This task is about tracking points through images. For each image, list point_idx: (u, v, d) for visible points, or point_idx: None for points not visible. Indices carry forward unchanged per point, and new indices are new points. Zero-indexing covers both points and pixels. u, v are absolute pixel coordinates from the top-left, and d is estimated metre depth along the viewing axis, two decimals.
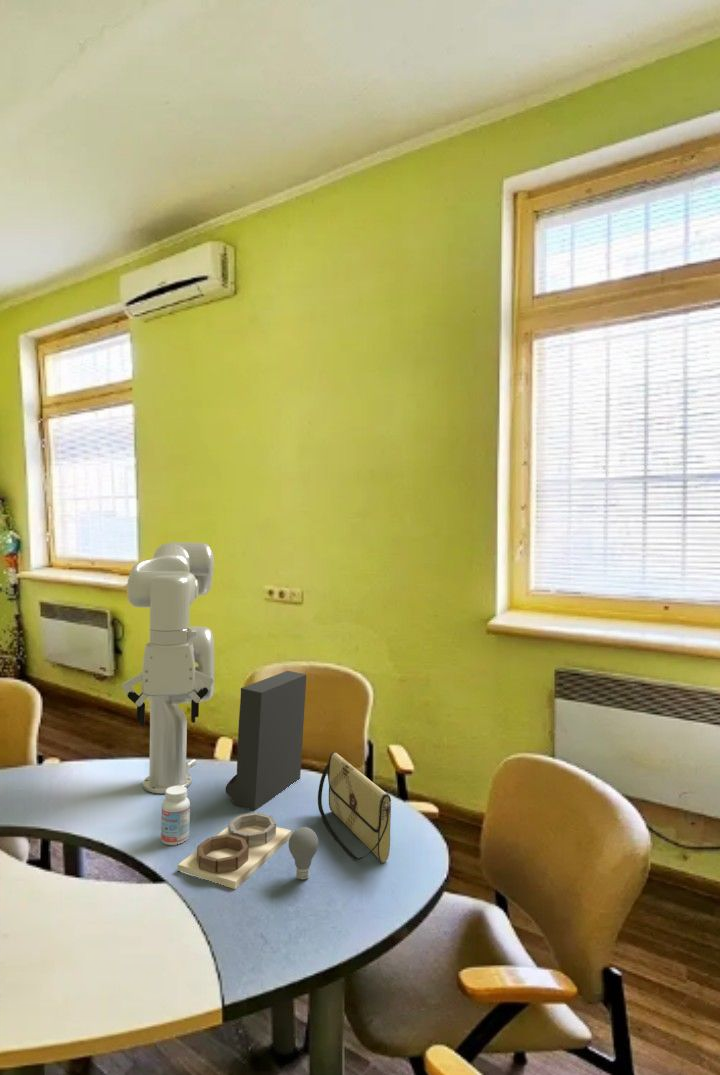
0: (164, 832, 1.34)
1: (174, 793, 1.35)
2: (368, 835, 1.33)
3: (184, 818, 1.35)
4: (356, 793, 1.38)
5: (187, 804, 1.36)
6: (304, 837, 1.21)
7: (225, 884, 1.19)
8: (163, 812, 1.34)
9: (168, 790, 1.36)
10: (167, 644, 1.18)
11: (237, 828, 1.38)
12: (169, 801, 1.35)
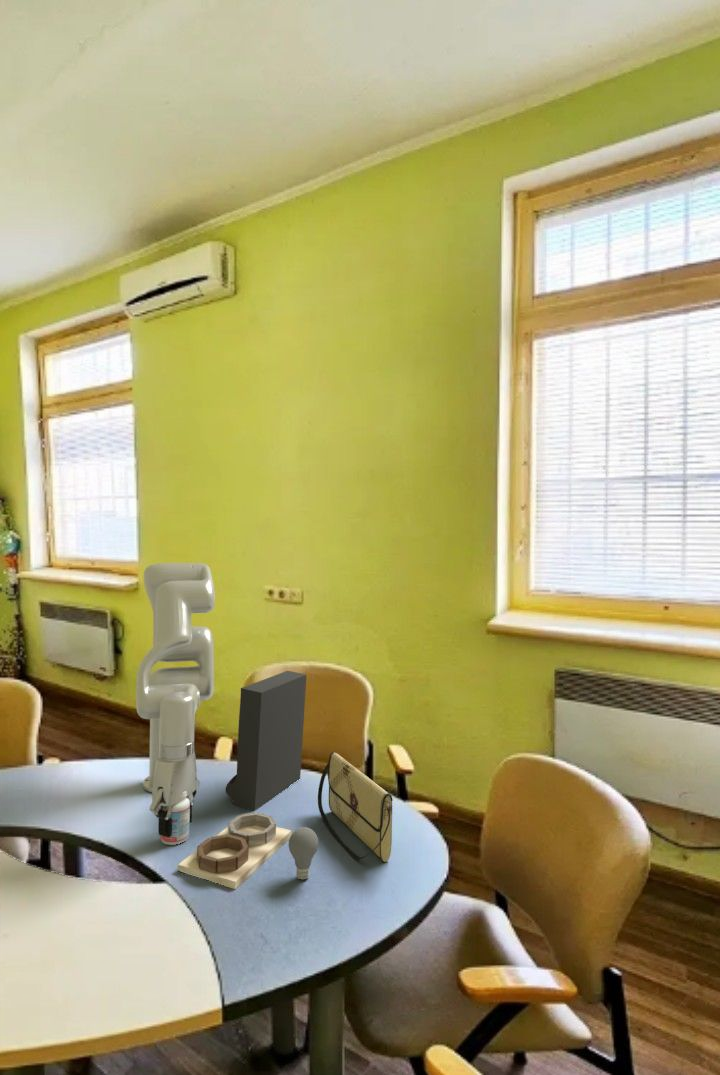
0: None
1: None
2: (369, 835, 1.33)
3: (184, 818, 1.35)
4: (357, 793, 1.38)
5: (187, 804, 1.36)
6: (304, 837, 1.21)
7: (225, 884, 1.19)
8: None
9: None
10: (189, 755, 1.35)
11: (237, 828, 1.38)
12: None
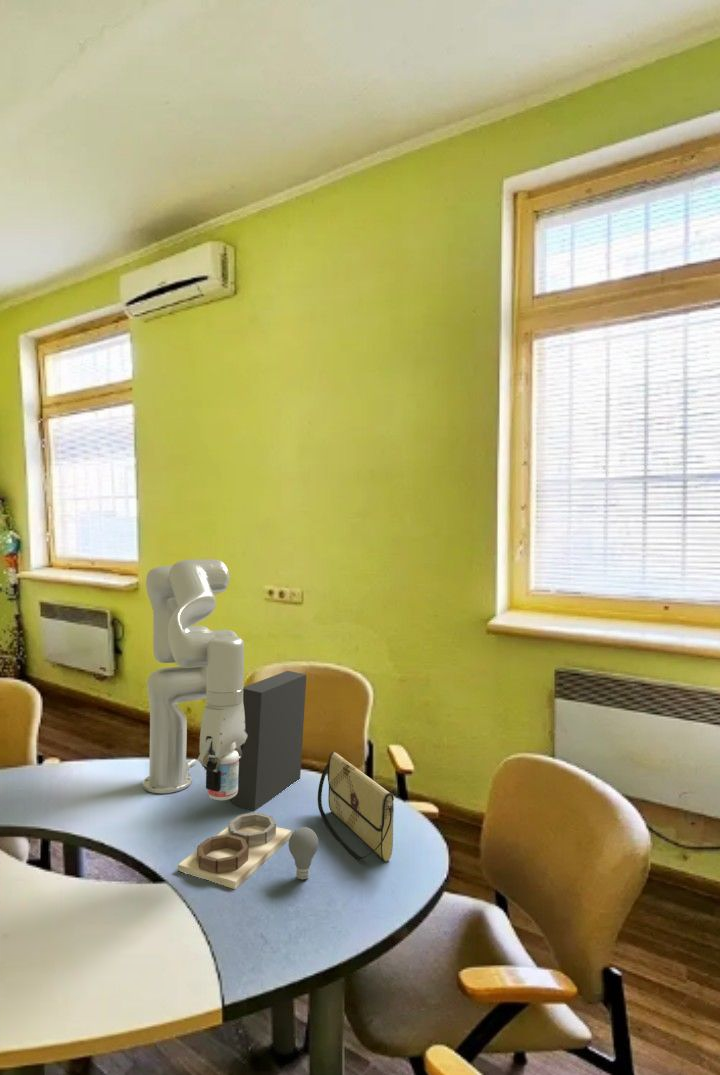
0: None
1: None
2: (370, 834, 1.33)
3: (234, 771, 1.24)
4: (358, 792, 1.38)
5: (236, 756, 1.25)
6: (304, 837, 1.21)
7: (225, 884, 1.19)
8: None
9: None
10: (239, 703, 1.24)
11: (237, 828, 1.38)
12: None
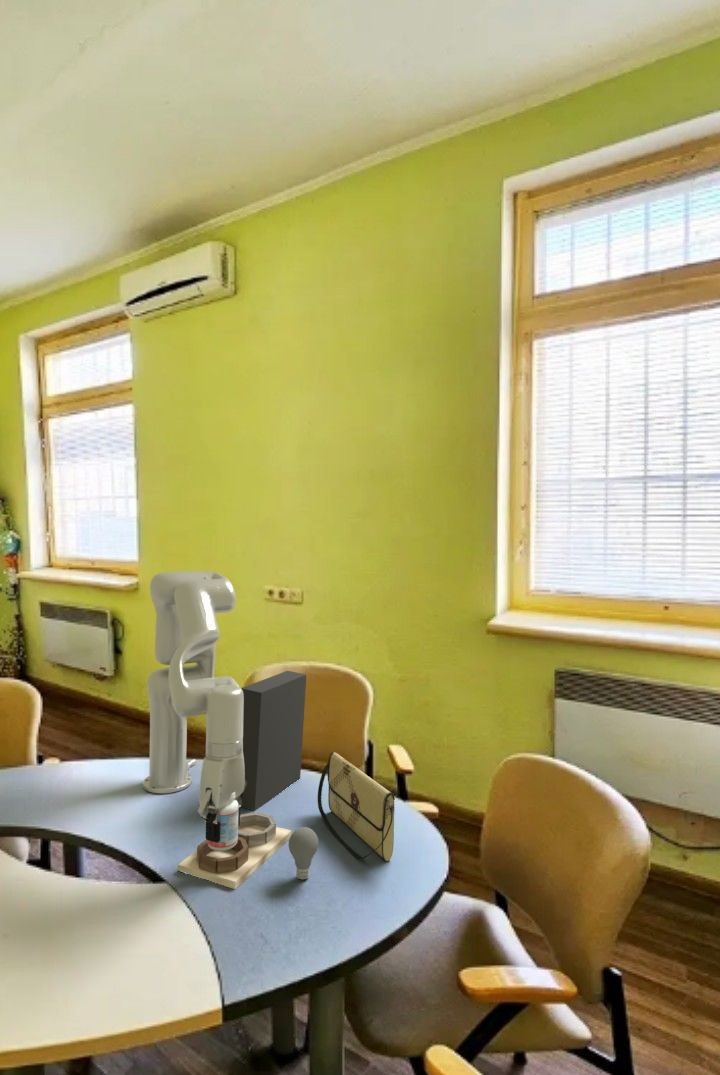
0: None
1: None
2: (371, 834, 1.33)
3: (233, 821, 1.24)
4: (358, 792, 1.38)
5: (236, 806, 1.25)
6: (304, 837, 1.21)
7: (225, 884, 1.19)
8: None
9: None
10: (238, 753, 1.24)
11: None
12: None
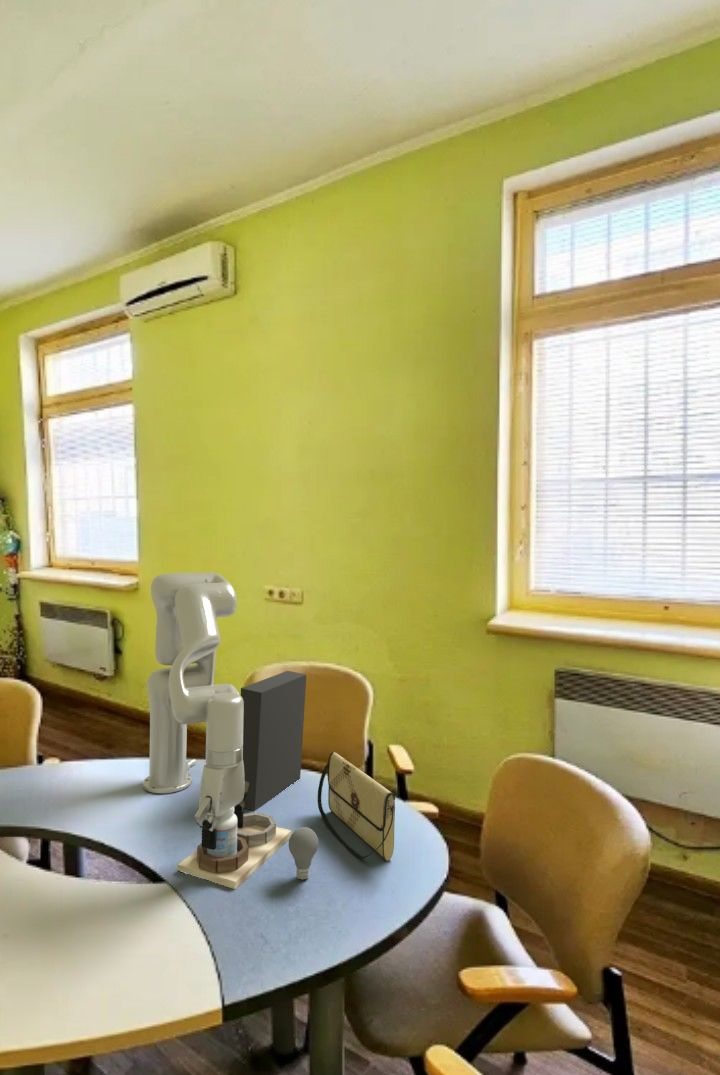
0: (211, 851, 1.24)
1: None
2: (371, 834, 1.33)
3: (232, 836, 1.25)
4: (358, 792, 1.38)
5: (235, 821, 1.25)
6: (304, 837, 1.21)
7: (225, 884, 1.19)
8: None
9: None
10: (238, 761, 1.24)
11: (237, 828, 1.38)
12: None
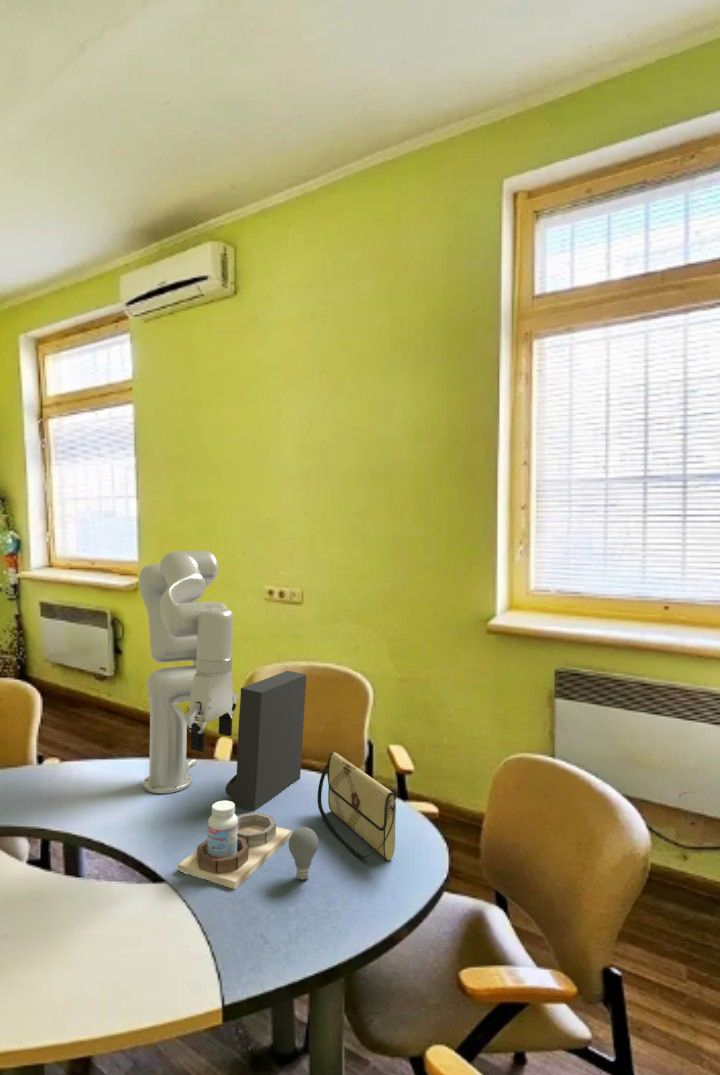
0: (211, 851, 1.24)
1: (222, 809, 1.24)
2: (372, 833, 1.33)
3: (233, 836, 1.25)
4: (359, 792, 1.38)
5: (235, 821, 1.26)
6: (304, 837, 1.21)
7: (225, 884, 1.19)
8: (210, 830, 1.24)
9: (215, 805, 1.26)
10: (227, 671, 1.31)
11: None
12: (216, 818, 1.24)
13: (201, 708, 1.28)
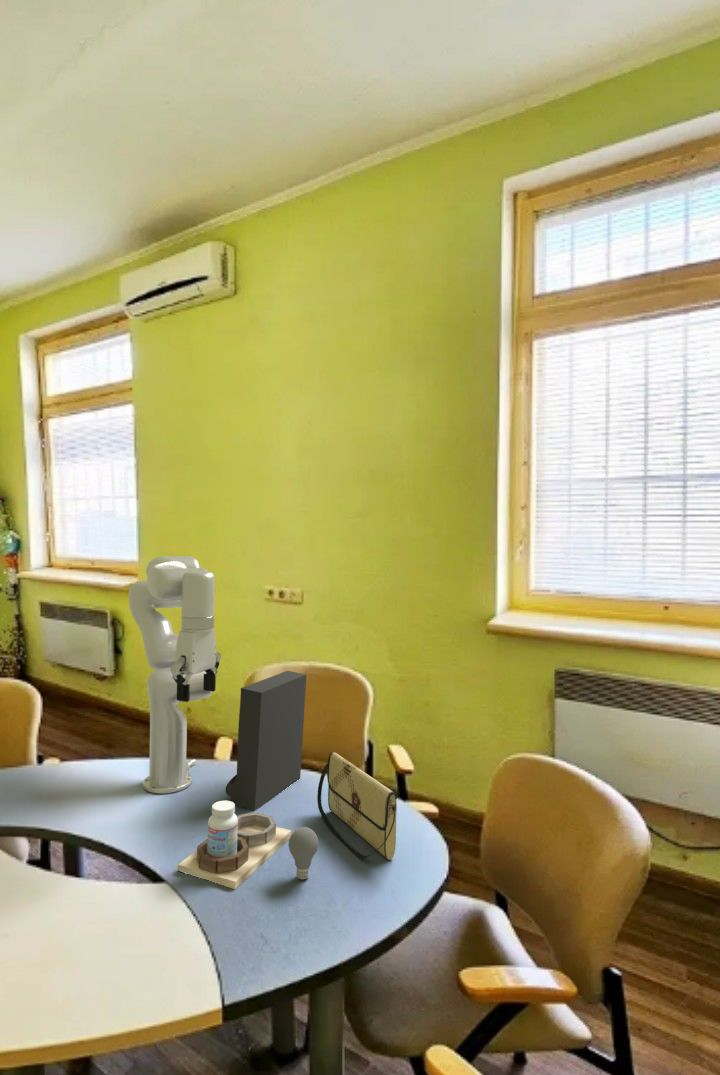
0: (211, 851, 1.24)
1: (222, 809, 1.24)
2: (372, 833, 1.34)
3: (233, 836, 1.25)
4: (359, 792, 1.38)
5: (235, 821, 1.26)
6: (304, 837, 1.21)
7: (225, 884, 1.19)
8: (210, 830, 1.24)
9: (215, 805, 1.26)
10: (209, 628, 1.42)
11: None
12: (216, 818, 1.24)
13: (186, 661, 1.39)
